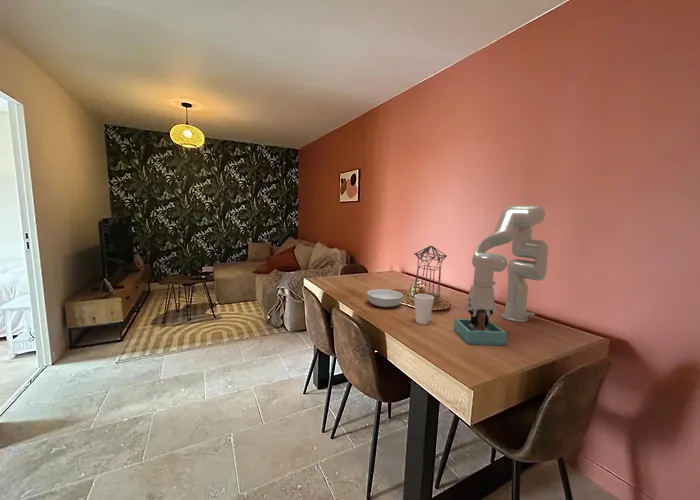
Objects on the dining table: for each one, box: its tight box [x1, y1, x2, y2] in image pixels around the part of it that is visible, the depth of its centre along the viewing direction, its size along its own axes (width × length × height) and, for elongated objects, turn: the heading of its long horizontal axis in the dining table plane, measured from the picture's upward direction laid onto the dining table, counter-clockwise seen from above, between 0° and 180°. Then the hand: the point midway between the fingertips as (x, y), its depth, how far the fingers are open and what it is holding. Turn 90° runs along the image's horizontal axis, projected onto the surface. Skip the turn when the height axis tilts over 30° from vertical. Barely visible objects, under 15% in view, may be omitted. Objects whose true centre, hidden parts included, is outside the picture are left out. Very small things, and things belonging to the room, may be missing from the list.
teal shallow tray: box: [453, 318, 508, 346], centre depth 138 cm, size 16×16×6 cm
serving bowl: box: [366, 288, 404, 308], centre depth 182 cm, size 21×21×7 cm
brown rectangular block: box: [474, 310, 486, 330], centre depth 137 cm, size 2×5×12 cm, turn 2°
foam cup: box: [413, 293, 435, 325], centre depth 155 cm, size 10×9×13 cm
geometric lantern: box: [412, 245, 448, 301], centre depth 189 cm, size 16×16×35 cm
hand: (479, 324), depth 138 cm, fingers open, 4 cm apart
